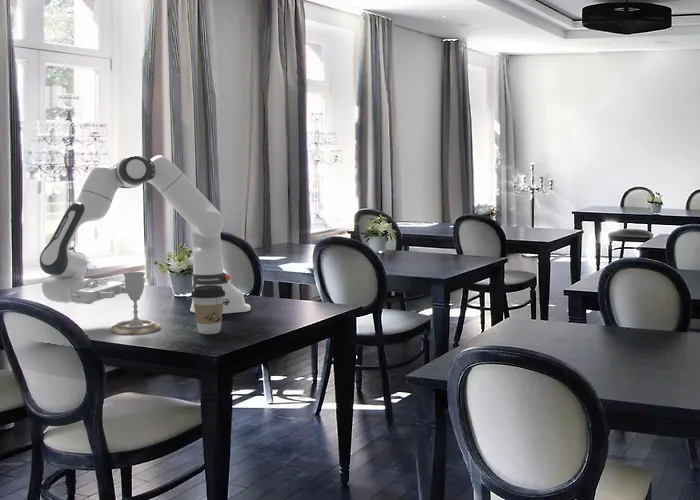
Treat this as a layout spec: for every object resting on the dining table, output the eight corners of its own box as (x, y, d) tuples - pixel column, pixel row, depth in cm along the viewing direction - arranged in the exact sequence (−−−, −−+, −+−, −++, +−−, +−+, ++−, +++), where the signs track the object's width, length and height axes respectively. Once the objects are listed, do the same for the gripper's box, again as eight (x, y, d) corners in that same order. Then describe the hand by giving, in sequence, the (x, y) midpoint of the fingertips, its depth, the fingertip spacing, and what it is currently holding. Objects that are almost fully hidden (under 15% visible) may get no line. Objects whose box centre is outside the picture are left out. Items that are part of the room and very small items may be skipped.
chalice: (149, 323, 290) (147, 271, 288) (145, 327, 284) (143, 274, 282) (127, 324, 290) (125, 272, 288) (122, 328, 283) (120, 275, 281)
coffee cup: (201, 337, 275) (200, 291, 273) (186, 331, 284) (184, 287, 282) (232, 332, 281) (231, 287, 279) (216, 326, 290) (215, 283, 289)
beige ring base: (160, 323, 297) (160, 317, 296) (160, 333, 281) (160, 326, 281) (113, 326, 293) (112, 319, 293) (110, 336, 278) (109, 329, 277)
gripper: (67, 286, 281) (103, 288, 277) (102, 277, 300) (137, 279, 296) (67, 305, 282) (104, 307, 278) (103, 295, 301) (137, 297, 297)
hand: (121, 293), depth 287 cm, fingers open, 8 cm apart
